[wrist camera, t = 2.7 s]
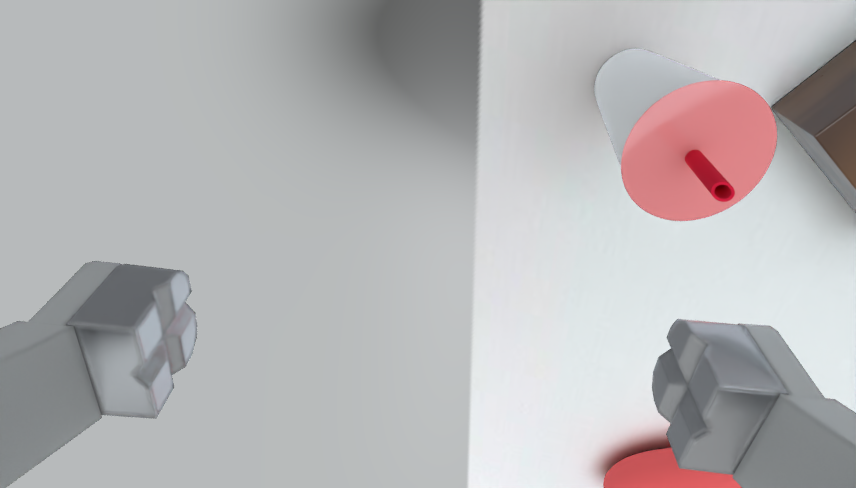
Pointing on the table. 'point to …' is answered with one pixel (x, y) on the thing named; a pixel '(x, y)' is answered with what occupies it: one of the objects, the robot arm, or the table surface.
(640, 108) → the cup
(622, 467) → the red bean shape
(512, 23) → the table surface
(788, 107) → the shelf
